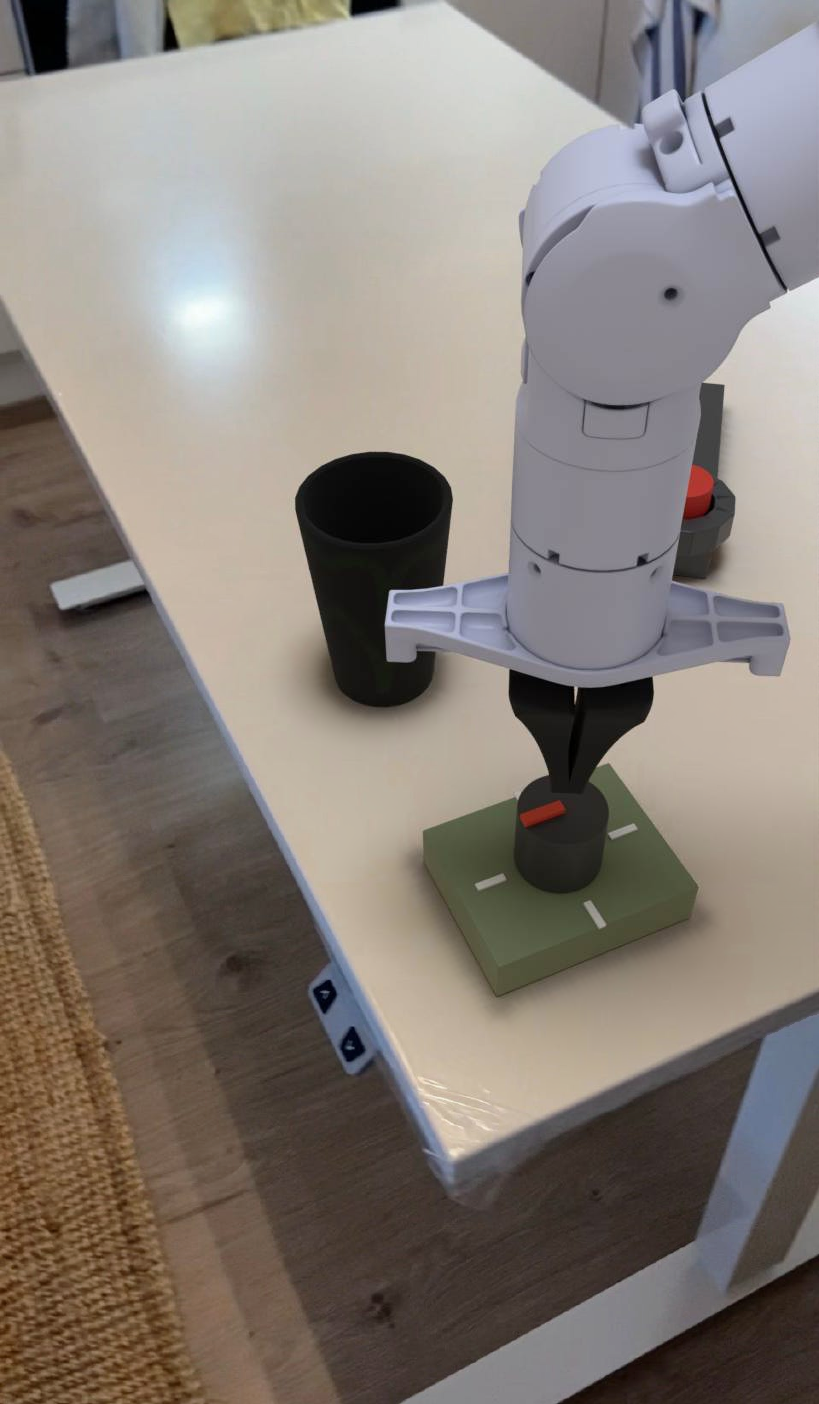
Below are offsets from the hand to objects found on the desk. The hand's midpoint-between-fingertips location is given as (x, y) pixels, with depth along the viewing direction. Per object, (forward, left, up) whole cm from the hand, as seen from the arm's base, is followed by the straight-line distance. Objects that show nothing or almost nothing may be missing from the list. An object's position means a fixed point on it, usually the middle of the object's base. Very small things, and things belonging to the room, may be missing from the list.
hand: (566, 775), depth 50 cm
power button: (-7, -25, -5) cm, 27 cm away
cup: (+9, -14, -9) cm, 19 cm away
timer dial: (0, 0, -6) cm, 6 cm away
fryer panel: (0, 0, -8) cm, 8 cm away
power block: (-5, -32, -8) cm, 34 cm away
